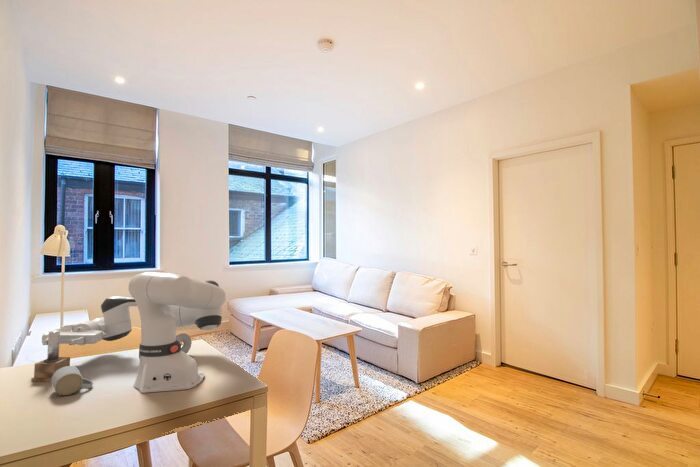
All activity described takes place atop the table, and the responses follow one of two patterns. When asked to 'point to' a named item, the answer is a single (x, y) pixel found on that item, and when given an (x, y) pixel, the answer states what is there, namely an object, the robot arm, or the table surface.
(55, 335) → the brushed metal cylinder
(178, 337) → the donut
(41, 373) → the walnut stand
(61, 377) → the ceramic mug
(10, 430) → the table surface
